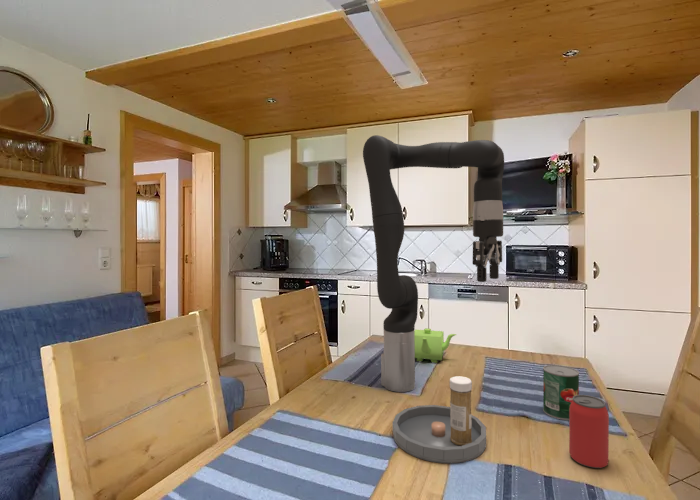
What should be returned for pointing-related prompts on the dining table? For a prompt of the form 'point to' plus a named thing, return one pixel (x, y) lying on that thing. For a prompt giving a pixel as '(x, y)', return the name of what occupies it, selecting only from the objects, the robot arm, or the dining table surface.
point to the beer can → (589, 431)
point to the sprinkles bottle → (460, 410)
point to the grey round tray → (435, 435)
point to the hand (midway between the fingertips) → (488, 280)
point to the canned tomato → (559, 390)
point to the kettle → (430, 344)
